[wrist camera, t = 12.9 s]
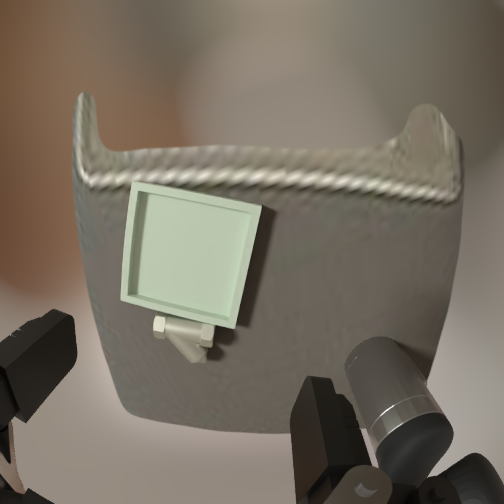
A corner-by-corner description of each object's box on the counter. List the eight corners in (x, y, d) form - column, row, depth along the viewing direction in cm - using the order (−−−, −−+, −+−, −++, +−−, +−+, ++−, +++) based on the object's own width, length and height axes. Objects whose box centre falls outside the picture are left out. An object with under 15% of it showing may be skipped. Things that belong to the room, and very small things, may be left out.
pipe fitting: (212, 356, 41) (216, 316, 40) (209, 371, 37) (213, 329, 36) (159, 346, 41) (160, 306, 39) (152, 360, 37) (152, 318, 35)
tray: (261, 204, 35) (261, 206, 33) (235, 321, 39) (234, 329, 37) (138, 180, 35) (132, 181, 33) (126, 294, 39) (120, 300, 37)
